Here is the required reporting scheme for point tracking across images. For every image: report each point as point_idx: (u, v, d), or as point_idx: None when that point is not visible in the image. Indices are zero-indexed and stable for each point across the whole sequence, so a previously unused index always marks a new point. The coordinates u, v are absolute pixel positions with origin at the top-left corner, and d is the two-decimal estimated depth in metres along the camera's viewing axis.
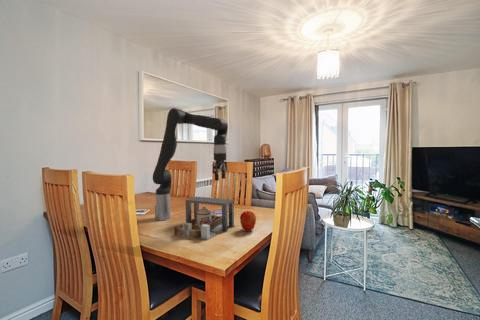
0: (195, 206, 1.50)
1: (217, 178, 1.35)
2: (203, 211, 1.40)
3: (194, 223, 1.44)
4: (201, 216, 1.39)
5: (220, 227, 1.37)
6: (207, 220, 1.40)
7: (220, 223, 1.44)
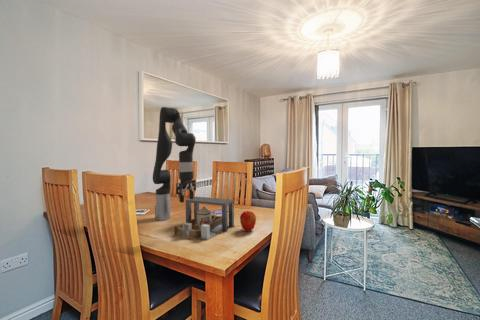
0: (195, 206, 1.50)
1: (182, 200, 1.20)
2: (203, 211, 1.40)
3: (194, 223, 1.44)
4: (201, 216, 1.39)
5: (220, 227, 1.37)
6: (207, 220, 1.40)
7: (220, 223, 1.44)
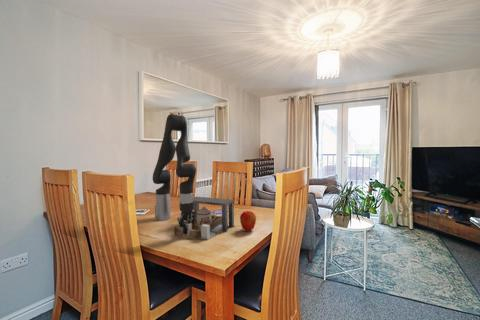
0: (195, 206, 1.50)
1: (185, 232, 1.23)
2: (203, 211, 1.40)
3: (194, 223, 1.44)
4: (201, 216, 1.39)
5: (220, 227, 1.37)
6: (207, 220, 1.40)
7: (220, 223, 1.44)
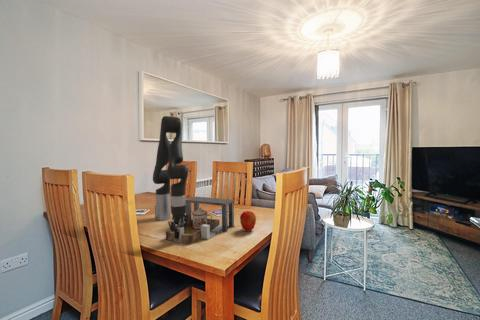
0: (195, 206, 1.50)
1: (177, 236, 1.17)
2: (197, 212, 1.38)
3: (187, 226, 1.37)
4: (195, 216, 1.37)
5: (220, 227, 1.37)
6: (201, 221, 1.37)
7: (214, 226, 1.37)
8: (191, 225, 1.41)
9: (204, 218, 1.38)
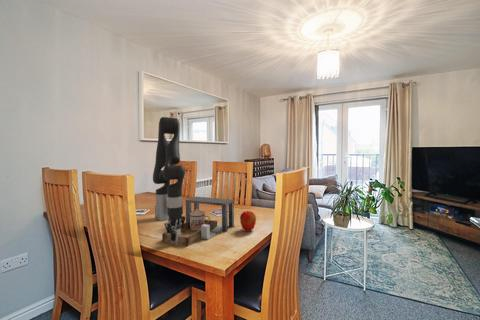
0: (195, 206, 1.50)
1: (173, 238, 1.15)
2: (195, 213, 1.36)
3: (184, 228, 1.35)
4: (192, 218, 1.35)
5: (220, 227, 1.37)
6: (198, 222, 1.35)
7: (212, 228, 1.35)
8: (188, 226, 1.38)
9: (201, 219, 1.36)
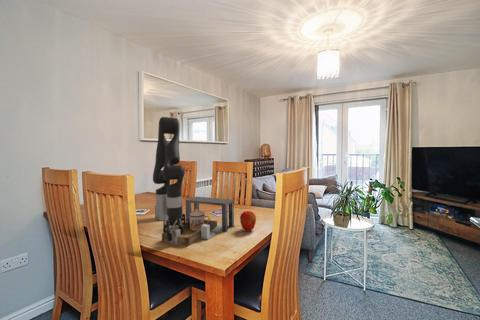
0: (195, 206, 1.50)
1: (169, 238, 1.12)
2: (194, 213, 1.35)
3: (184, 228, 1.35)
4: (192, 218, 1.35)
5: (220, 227, 1.37)
6: (198, 223, 1.34)
7: (212, 228, 1.35)
8: (188, 227, 1.38)
9: (201, 219, 1.35)
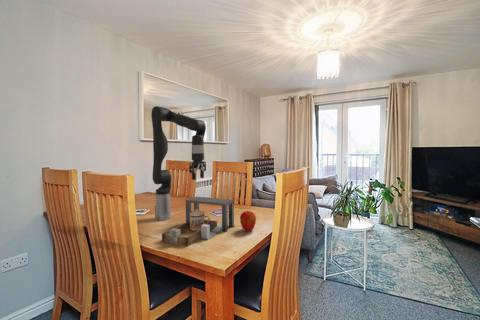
0: (195, 206, 1.50)
1: (194, 177, 1.39)
2: (194, 213, 1.35)
3: (184, 228, 1.35)
4: (192, 218, 1.35)
5: (220, 227, 1.37)
6: (198, 223, 1.34)
7: (212, 228, 1.35)
8: (188, 227, 1.38)
9: (201, 219, 1.35)
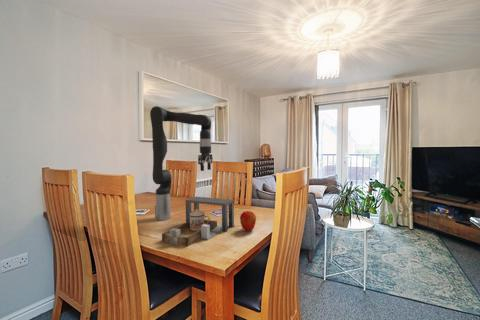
0: (195, 206, 1.50)
1: (202, 169, 1.51)
2: (194, 213, 1.35)
3: (184, 228, 1.35)
4: (192, 218, 1.35)
5: (220, 227, 1.37)
6: (198, 223, 1.34)
7: (212, 228, 1.35)
8: (188, 227, 1.38)
9: (201, 219, 1.35)
